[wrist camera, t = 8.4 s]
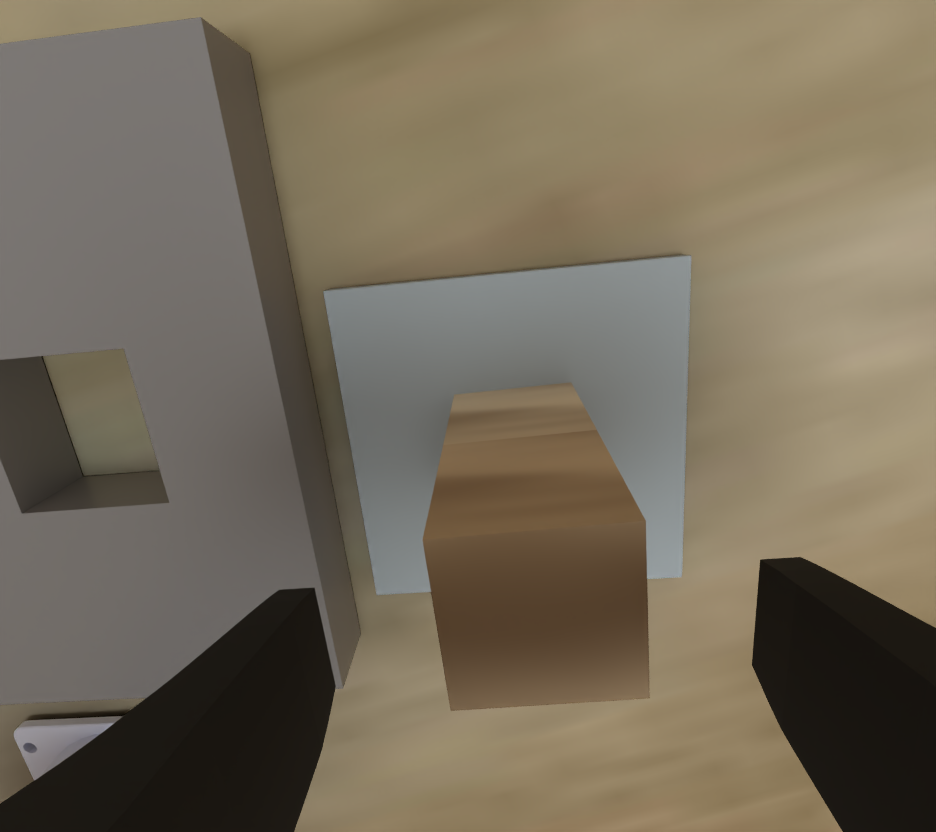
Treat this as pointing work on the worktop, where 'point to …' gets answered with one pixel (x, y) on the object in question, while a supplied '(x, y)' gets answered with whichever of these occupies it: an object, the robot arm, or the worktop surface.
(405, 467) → the mat
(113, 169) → the grey flat plate
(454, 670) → the plug
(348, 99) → the worktop surface
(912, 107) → the worktop surface
